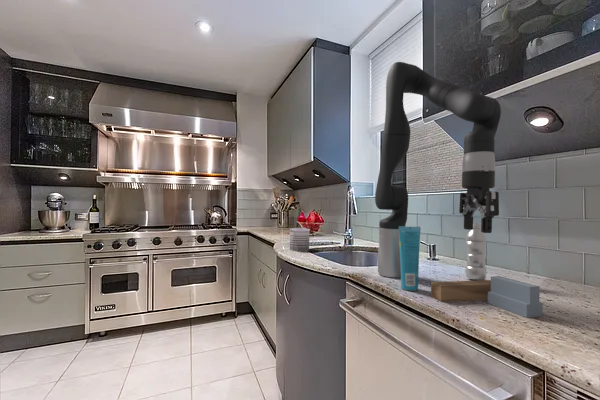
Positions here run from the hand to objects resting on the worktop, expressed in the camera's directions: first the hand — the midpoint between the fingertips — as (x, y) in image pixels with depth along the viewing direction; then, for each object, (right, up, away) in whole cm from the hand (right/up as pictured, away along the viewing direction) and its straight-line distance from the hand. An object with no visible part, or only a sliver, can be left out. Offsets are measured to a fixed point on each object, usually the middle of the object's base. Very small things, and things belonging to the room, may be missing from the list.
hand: (476, 231), depth 76 cm
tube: (-14, -19, +11) cm, 26 cm away
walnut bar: (0, -20, +4) cm, 20 cm away
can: (-48, -20, +86) cm, 101 cm away
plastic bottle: (+15, -20, +25) cm, 35 cm away
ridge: (+6, -19, -5) cm, 21 cm away
